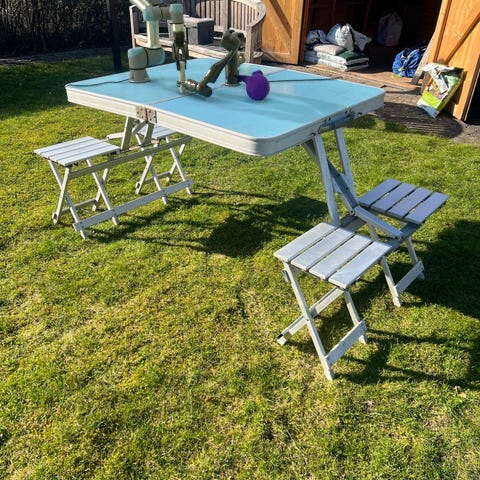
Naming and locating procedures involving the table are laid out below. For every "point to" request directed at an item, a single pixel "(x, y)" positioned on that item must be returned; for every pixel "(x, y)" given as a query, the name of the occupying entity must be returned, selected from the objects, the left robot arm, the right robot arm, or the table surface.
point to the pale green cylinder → (182, 79)
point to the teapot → (241, 59)
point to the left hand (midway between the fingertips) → (181, 69)
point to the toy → (255, 85)
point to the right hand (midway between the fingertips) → (180, 81)
